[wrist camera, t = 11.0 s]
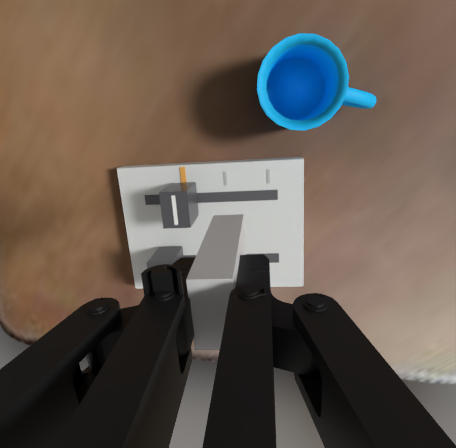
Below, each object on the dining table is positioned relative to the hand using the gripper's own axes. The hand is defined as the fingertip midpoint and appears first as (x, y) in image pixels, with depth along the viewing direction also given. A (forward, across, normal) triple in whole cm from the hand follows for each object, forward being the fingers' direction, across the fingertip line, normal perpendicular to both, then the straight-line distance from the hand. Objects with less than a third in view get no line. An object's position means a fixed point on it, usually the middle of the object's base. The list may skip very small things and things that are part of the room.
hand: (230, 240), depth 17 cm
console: (+26, -5, -8) cm, 27 cm away
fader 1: (+24, -8, -4) cm, 25 cm away
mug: (+26, +7, +7) cm, 28 cm away
